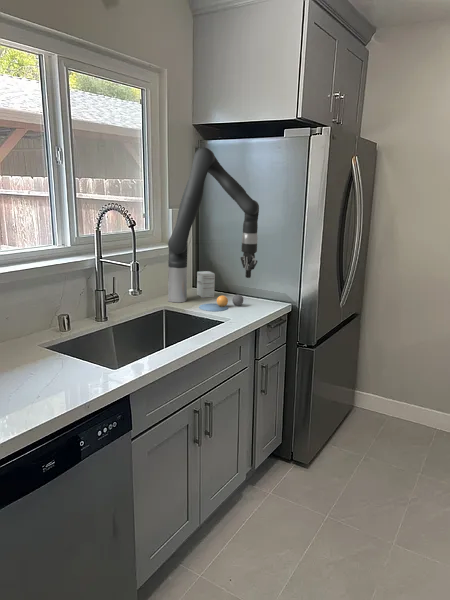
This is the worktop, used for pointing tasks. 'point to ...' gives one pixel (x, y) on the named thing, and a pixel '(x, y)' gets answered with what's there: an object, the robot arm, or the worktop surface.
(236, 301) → the gray ball
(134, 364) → the worktop surface
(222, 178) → the robot arm
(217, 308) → the blue mark
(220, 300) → the orange ball
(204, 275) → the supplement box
